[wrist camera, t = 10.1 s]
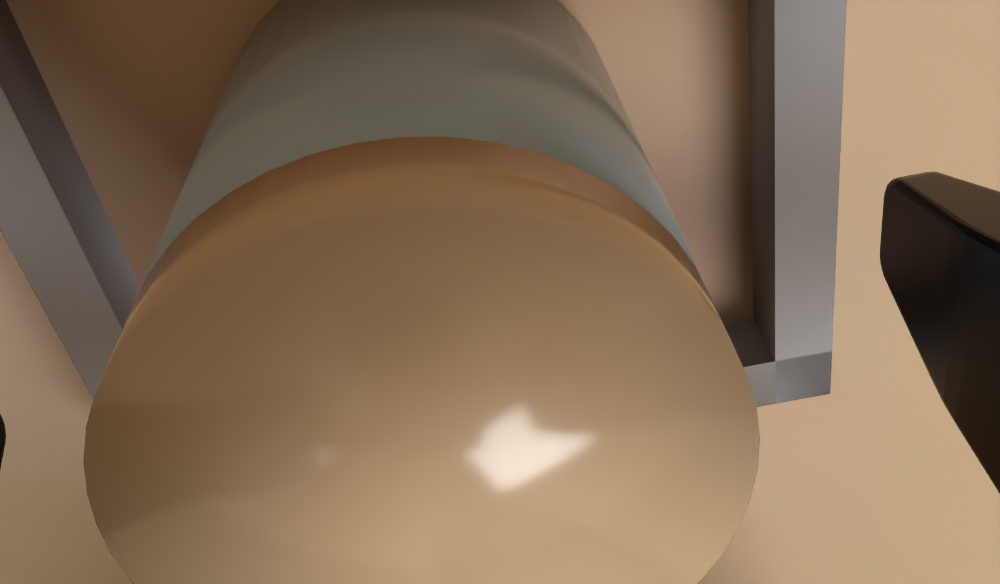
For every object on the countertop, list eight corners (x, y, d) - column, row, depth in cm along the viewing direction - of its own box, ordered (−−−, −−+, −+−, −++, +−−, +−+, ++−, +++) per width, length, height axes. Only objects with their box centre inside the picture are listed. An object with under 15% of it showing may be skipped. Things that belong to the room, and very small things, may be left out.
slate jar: (634, 274, 13) (763, 640, 9) (290, 338, 14) (221, 731, 9) (594, -91, 11) (755, 138, 6) (161, -7, 11) (-51, 288, 6)
